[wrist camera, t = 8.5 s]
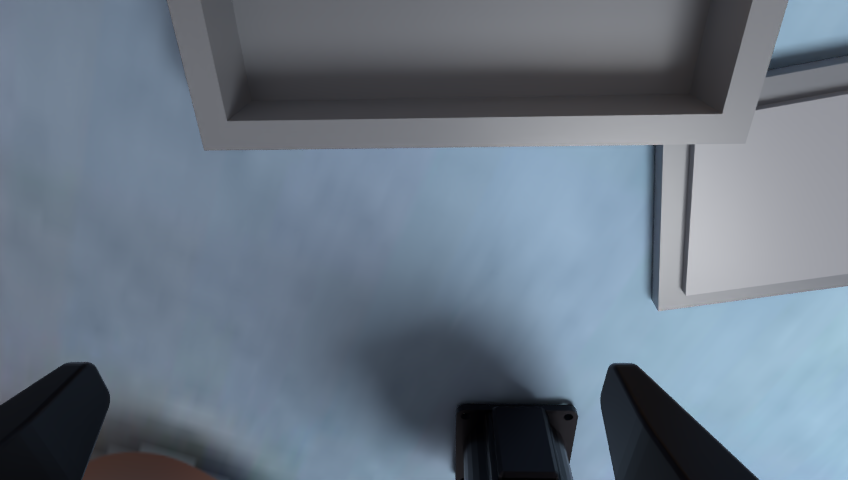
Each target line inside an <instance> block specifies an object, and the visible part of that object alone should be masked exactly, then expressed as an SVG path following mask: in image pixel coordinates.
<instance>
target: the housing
mask: <svg viewBox="0 0 848 480" xmlns="http://www.w3.org/2000/svg"><path fill="white" fill-rule="evenodd" d="M167 3H168V7H169V11H170V15H171V19H172V23H173V27H174V31H175V35H176V39H177V43H178V47H179V51H180V55H181V59H182V63H183V67H184V71H185V75H186V79H187V83H188V87H189V91H190V95H191V99H192V103H193V107H194V111H195V115H196V119H197V123H198V127H199V131H200V135H201V139H202V143H203V147H204V150H278V149H359V148H440V147H521V146H602V145H683V144H745V143H746V140H747V137H748V133H749V130H750V127H751V123H752V120H753V117H754V113H755V110H756V107H757V103H758V100H759V97H760V93H761V90H762V87H763V83H764V80H765V77H766V73H767V70H768V67H769V63H770V60H771V57H772V53H773V50H774V47H775V43H776V40H777V37H778V33H779V30H780V27H781V23H782V20H783V17H784V13H785V10H786V7H787V3H788V0H167Z"/></svg>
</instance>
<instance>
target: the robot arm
mask: <svg viewBox="0 0 848 480" xmlns="http://www.w3.org/2000/svg"><path fill="white" fill-rule="evenodd" d="M600 401H601V410H602V415H603V420H604V425H605V430H606V435H607V440H608V445H609V450H610V455H611V460H612V465H613V470H614V475H615V480H759V479H758V478H757V477H756V476H755V475H754V474H753V473H752V472H751V471H749V470H748V469H747V468H746V467H745V466H744V465H743V464H742V463H741V462H740V461H739V460H738V459H737V458H736V457H735V456H733V455H732V454H731V453H730V452H729V451H728V450H727V449H726V448H725V447H724V446H723V445H722V444H721V443H720V442H719V441H717V440H716V439H715V438H714V437H713V436H712V435H711V434H710V433H709V432H708V431H707V430H706V429H705V428H704V427H702V426H701V425H700V424H699V423H698V422H697V421H696V420H695V419H694V418H693V417H692V416H691V415H690V414H689V413H688V412H686V411H685V410H684V409H683V408H682V407H681V406H680V405H679V404H678V403H677V402H676V401H675V400H674V399H673V398H672V397H670V396H669V395H668V394H667V393H666V392H665V391H664V390H663V389H662V388H661V387H660V386H659V385H658V384H657V383H656V382H654V381H653V380H652V379H651V378H650V377H649V376H648V375H647V374H646V373H645V372H644V371H643V370H642V369H641V368H639V367H638V366H637V365H635V364H632V363H613V364H611V365H610V366H609V368H608V370H607V374H606V378H605V381H604V385H603V388H602V392H601V398H600ZM109 404H110V394H109V391H108V389H107V387H106V385H105V383H104V381H103V379H102V377H101V376H100V374H99V372H98V370H97V368H96V367H95V365H93V364H92V363H89V362H70V363H66V364H63V365H62V366H60V367H58V368H57V369H55V370H54V371H52V372H51V373H49V374H48V375H46V376H45V377H43V378H41V379H40V380H38V381H37V382H35V383H34V384H32V385H31V386H29V387H28V388H26V389H25V390H23V391H22V392H20V393H19V394H17V395H15V396H14V397H12V398H11V399H9V400H8V401H6V402H5V403H3V404H2V405H0V480H82V478H83V476H84V473H85V470H86V468H87V465H88V462H89V459H90V457H91V454H92V451H93V449H94V446H95V443H96V440H97V438H98V435H99V432H100V430H101V427H102V424H103V421H104V419H105V416H106V413H107V411H108V408H109ZM463 413H467V414H463ZM566 414H567V415H566ZM577 419H578V415H577V411H576V408H575V407H574V406H572V405H523V404H462V405H460V406H458V407H457V409H456V470H455V477H456V480H573V477H572V473H571V469H570V465H569V463H570V458H571V452H572V447H573V441H574V436H575V430H576V425H577Z"/></svg>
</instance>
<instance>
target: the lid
mask: <svg viewBox="0 0 848 480" xmlns="http://www.w3.org/2000/svg"><path fill="white" fill-rule="evenodd" d="M843 286H848V55H847V56H842V57H836V58H831V59H826V60H820V61H815V62H809V63H804V64H799V65H793V66H788V67H782V68H777V69H772V70H767V73H766V77H765V80H764V83H763V87H762V90H761V93H760V97H759V100H758V103H757V107H756V110H755V113H754V117H753V120H752V123H751V127H750V130H749V133H748V137H747V140H746V143H745V144H683V145H656V152H655V196H654V241H653V285H652V301H653V303H654V305H655V306H656V308H657V310H658V311H663V310H671V309H678V308H686V307H693V306H701V305H708V304H716V303H723V302H731V301H738V300H746V299H753V298H761V297H768V296H776V295H783V294H791V293H798V292H806V291H813V290H821V289H828V288H836V287H843Z"/></svg>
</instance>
